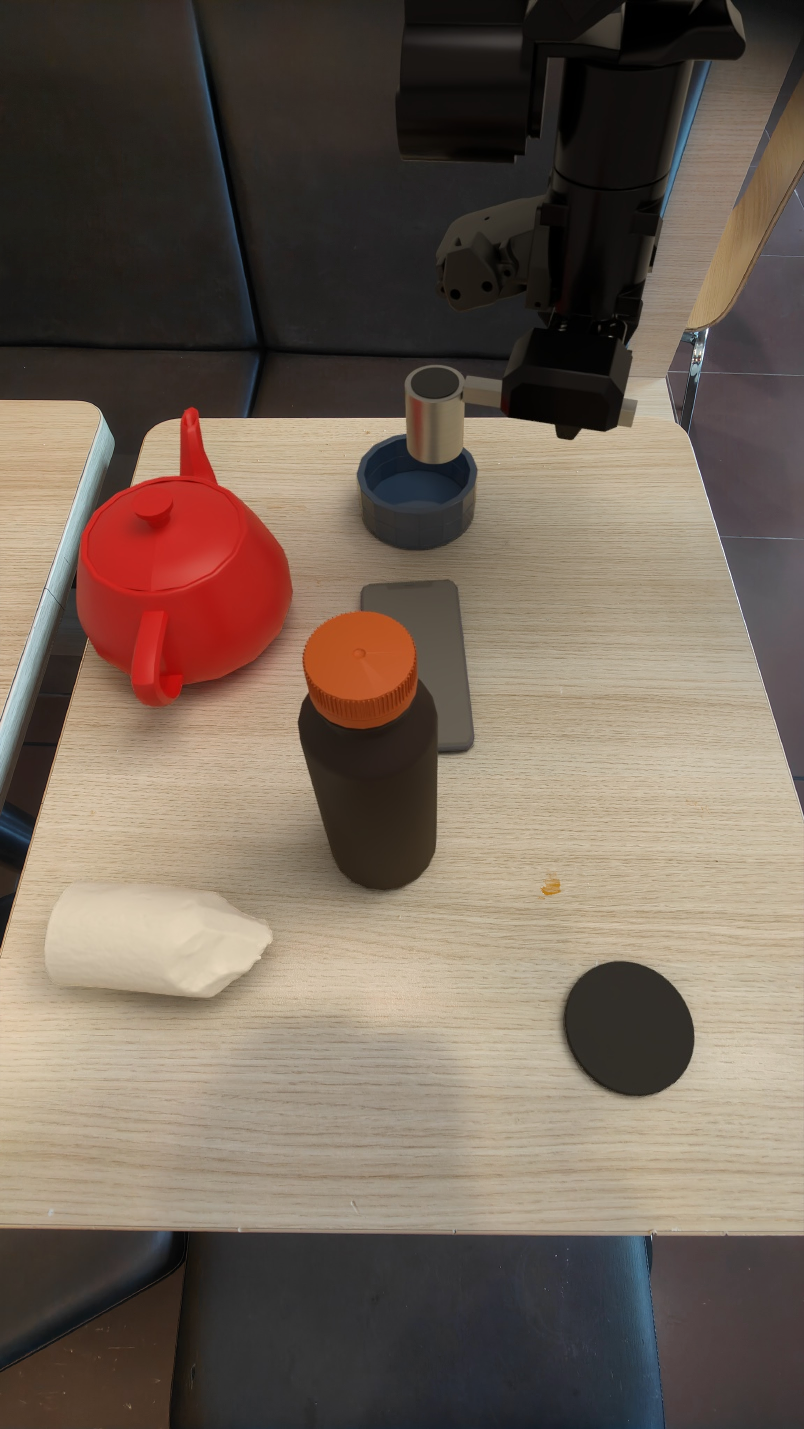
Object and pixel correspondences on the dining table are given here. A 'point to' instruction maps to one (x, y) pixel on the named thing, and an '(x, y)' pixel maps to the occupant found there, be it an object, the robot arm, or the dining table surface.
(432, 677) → the smartphone
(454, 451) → the scoop
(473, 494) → the bowl
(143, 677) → the teapot
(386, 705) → the bottle
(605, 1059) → the coaster
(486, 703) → the dining table surface
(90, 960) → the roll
